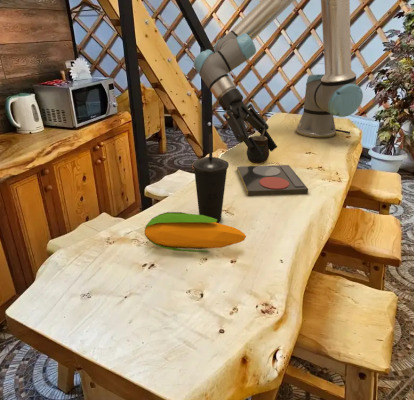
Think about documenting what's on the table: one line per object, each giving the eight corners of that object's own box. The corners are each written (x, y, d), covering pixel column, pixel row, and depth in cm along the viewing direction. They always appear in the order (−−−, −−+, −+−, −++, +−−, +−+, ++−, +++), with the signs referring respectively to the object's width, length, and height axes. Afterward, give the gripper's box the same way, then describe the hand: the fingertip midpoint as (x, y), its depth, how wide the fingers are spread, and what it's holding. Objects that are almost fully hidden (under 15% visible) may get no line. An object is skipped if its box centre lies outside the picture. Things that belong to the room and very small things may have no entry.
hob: (288, 169, 113) (288, 164, 113) (307, 194, 97) (308, 188, 96) (236, 171, 112) (237, 165, 111) (247, 196, 96) (248, 190, 95)
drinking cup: (188, 215, 86) (186, 131, 77) (218, 209, 89) (219, 128, 80) (200, 231, 80) (200, 141, 71) (232, 224, 82) (236, 137, 74)
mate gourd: (242, 163, 118) (244, 132, 114) (250, 156, 124) (251, 127, 120) (264, 166, 115) (267, 135, 111) (271, 159, 122) (273, 129, 117)
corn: (148, 202, 75) (247, 207, 73) (151, 233, 78) (245, 239, 76) (138, 222, 68) (246, 229, 66) (142, 255, 72) (244, 262, 70)
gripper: (238, 97, 128) (275, 151, 126) (199, 107, 114) (240, 167, 112) (252, 83, 123) (291, 138, 121) (213, 91, 108) (256, 154, 106)
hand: (266, 152), depth 116 cm, fingers open, 8 cm apart
